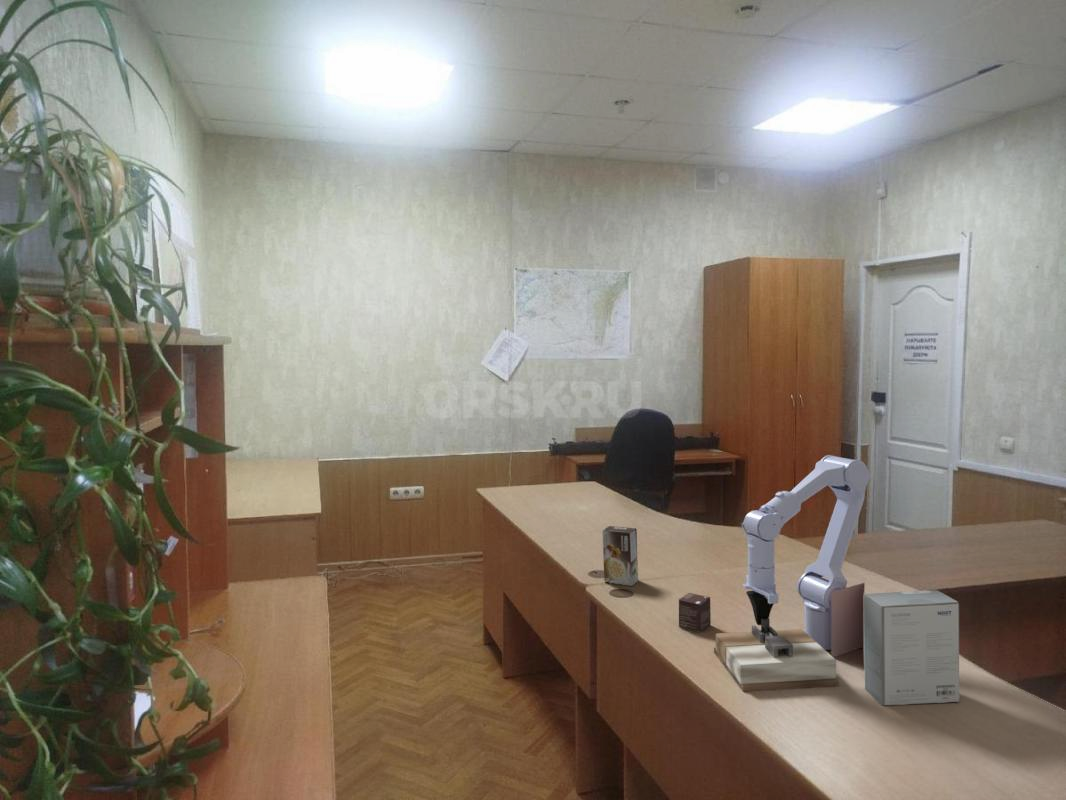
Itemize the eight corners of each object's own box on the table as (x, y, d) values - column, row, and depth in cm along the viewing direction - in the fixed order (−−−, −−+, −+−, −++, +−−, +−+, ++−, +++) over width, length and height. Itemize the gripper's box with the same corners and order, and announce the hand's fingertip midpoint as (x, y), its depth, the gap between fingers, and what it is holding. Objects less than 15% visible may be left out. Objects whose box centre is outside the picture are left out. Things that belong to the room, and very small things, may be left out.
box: (689, 620, 185) (689, 592, 184) (711, 625, 181) (711, 596, 181) (678, 627, 180) (677, 599, 180) (700, 633, 176) (700, 604, 176)
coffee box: (639, 580, 218) (638, 528, 216) (631, 586, 212) (630, 533, 211) (610, 576, 222) (609, 525, 221) (603, 582, 216) (601, 530, 215)
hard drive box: (937, 684, 147) (938, 589, 145) (960, 703, 139) (962, 602, 138) (862, 688, 146) (862, 592, 145) (881, 706, 139) (882, 605, 137)
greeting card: (860, 644, 167) (861, 581, 166) (890, 656, 160) (890, 590, 159) (827, 656, 161) (827, 590, 160) (857, 668, 155) (857, 600, 154)
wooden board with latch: (713, 652, 165) (713, 620, 165) (798, 647, 166) (798, 615, 166) (742, 691, 146) (742, 655, 146) (838, 685, 147) (838, 650, 147)
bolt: (759, 635, 161) (759, 617, 161) (767, 634, 161) (767, 616, 161) (771, 647, 154) (771, 628, 154) (779, 647, 154) (779, 628, 154)
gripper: (732, 556, 168) (733, 613, 169) (755, 575, 153) (755, 637, 154) (762, 555, 168) (762, 611, 169) (787, 574, 154) (788, 636, 155)
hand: (761, 624), depth 162 cm, fingers closed
